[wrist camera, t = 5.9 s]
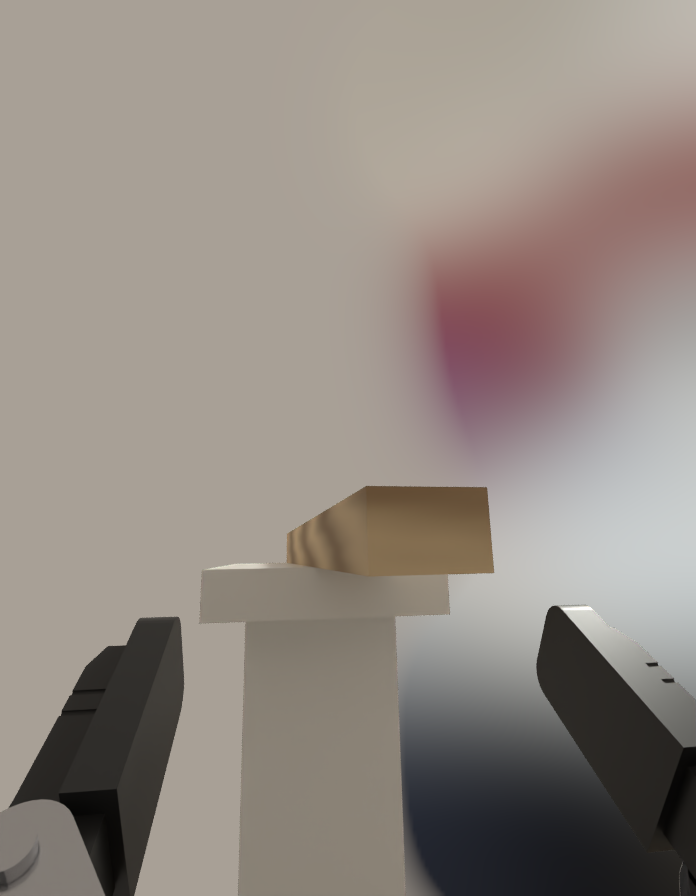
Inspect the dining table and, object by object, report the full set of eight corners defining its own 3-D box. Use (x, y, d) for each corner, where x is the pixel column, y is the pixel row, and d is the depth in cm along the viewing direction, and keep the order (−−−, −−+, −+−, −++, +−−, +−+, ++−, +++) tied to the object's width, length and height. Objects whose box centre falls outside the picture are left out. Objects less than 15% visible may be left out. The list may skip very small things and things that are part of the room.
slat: (493, 572, 11) (487, 487, 11) (368, 576, 10) (366, 486, 11) (329, 561, 34) (328, 533, 34) (286, 562, 33) (286, 533, 34)
